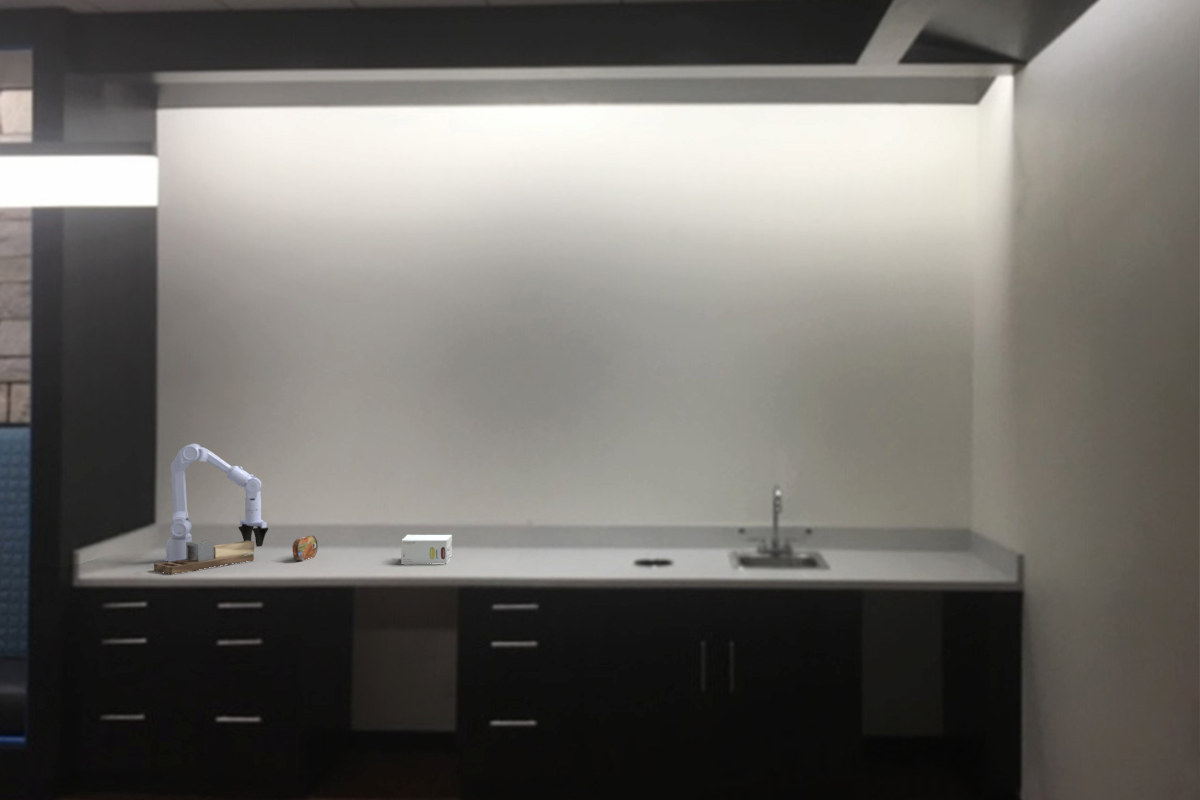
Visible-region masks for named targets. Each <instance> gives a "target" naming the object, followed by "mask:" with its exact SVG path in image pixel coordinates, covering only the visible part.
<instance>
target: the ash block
mask: <svg viewBox="0 0 1200 800" xmlns="http://www.w3.org/2000/svg"><path fill="white" fill-rule="evenodd" d="M246 553H255V541H252V540H251V541H244V540H243V541H237V542H231V543H223V544H216V545H214V558H221V557H228V556H234V555H240V554H246Z"/></svg>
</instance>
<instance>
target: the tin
mask: <svg viewBox="0 0 1200 800" xmlns="http://www.w3.org/2000/svg"><path fill="white" fill-rule="evenodd" d="M318 545H319V544H318V540H317V538H316V536H314V535H312V534H311V535H306V536H305V535H304V536H303V537H301V538H298V539H297V538H296V539H295V540H294V541H293V543H292V555H293V559H294V560H295V561H297V562H298V561H299V562H304V561H303V560H305V561H307V560H309V559H308V558H310V559H312V558H311V557H313V558H315V557H316V555H317V553H318ZM306 559H307V560H306Z"/></svg>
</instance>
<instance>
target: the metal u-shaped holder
mask: <svg viewBox="0 0 1200 800" xmlns="http://www.w3.org/2000/svg"><path fill="white" fill-rule="evenodd" d="M214 546H215V545H214V541H212V540H211V541H210V540H204V539H198V540H192V541H190V542H186V560H192V559H197V562H203V561H209V560H214Z"/></svg>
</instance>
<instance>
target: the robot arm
mask: <svg viewBox="0 0 1200 800" xmlns="http://www.w3.org/2000/svg"><path fill="white" fill-rule="evenodd" d="M197 460H198V462H203V463H204V462H207V463H209V464H210V465H212V466H214V467H216V468H217V469H218V470H220V471H222V472H224V473H225V475H226V478H227V479H228V480H229V481H231V482H233V483H234V484H236V485H237V486H239V487H240V488H243V490H244V491H245V497H244V500H245V501H244V511H245V512H244V514H245V516H244V518H245V519H239V526H238V529H239V531H240V533H241V535H242V540H243V541H252V534H253V533H254V539H255V546H256V547H262V546H263V544H264V540H265V537H266V534H267V532H268V531H269V527H267V526H268V522H266V521H264V520H263V519H262V497H261V495H262V494H261V489H262V481H261V480H260V479H259V478H258V477H257V476H255V475H254V474H252V473H251V474H249V472H247V471H246V470H244V469H243V468H244V467H243V466H241V465H239V466H238V465H230V464H229V463H228V462H227V461H225V460H223V459H222V458H221V457H219V456H218V455H217V454H215V453H214V452H213V451H211V450H209V449H208V448H206V447H204V446H203V447H202V446H201V445H200V444H198V443H196V442H195V443H194V442H193V443H190V444H187V445H185V446H183V447H182V448H181V449H179V451H178V453H176V456H175V457H174V459H173V460H172V462H171V464H170V476H171V477H170V479H171V494H172V495H171V496H172V518H171V519H172V520H171V521H172V522H171V525H170V528H169V532H170V535H171V536H170V537H169V538H168V539H167V541H166V544H165V546H166V547H165V552H166V553H165V555H166V558H165V559H164V560H163V561H164V562H167V561H168V562H170V561H176V560H182V559H186V542H190V541H193V539H192V534H191V533H190V532H191V531H192V528H193V524H192V522H191V520H190V515H189V512H188V502H187V500H188V499H187V482H186V469H187V468H188V467H189V466H190V465H191V464H192V463H193V462H195V461H197Z"/></svg>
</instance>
